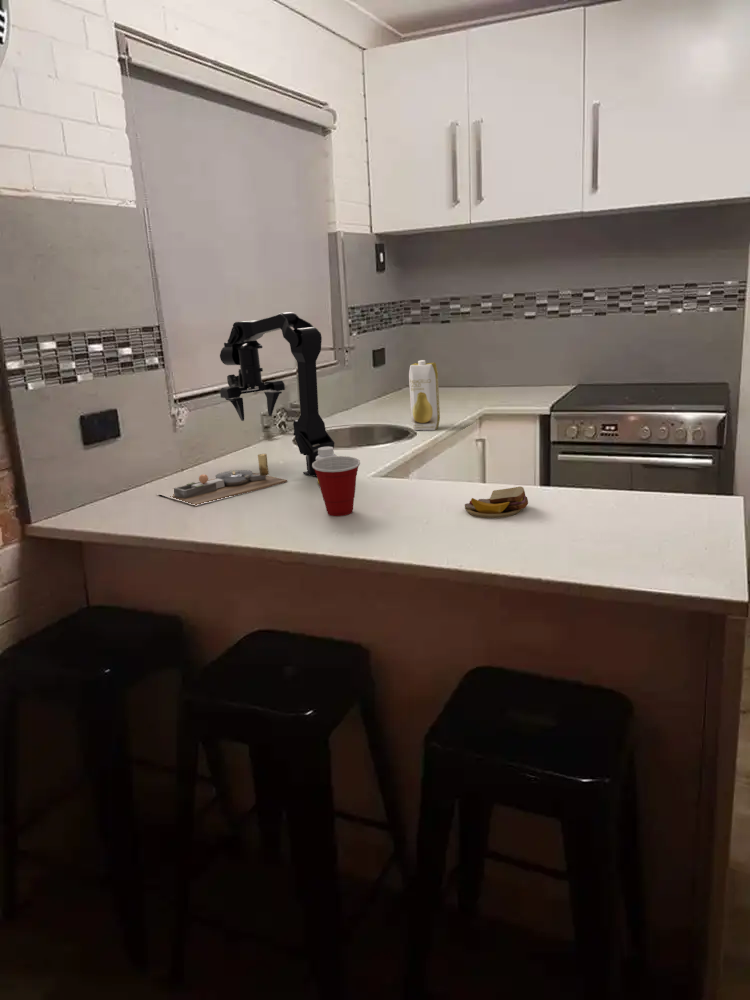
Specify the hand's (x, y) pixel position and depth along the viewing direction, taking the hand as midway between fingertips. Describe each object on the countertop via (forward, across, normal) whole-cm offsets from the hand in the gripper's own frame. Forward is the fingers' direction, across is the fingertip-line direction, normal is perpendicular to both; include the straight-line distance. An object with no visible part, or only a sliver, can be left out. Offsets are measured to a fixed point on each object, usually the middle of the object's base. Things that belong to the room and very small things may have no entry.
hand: (256, 418), depth 223 cm
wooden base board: (+14, +21, +17) cm, 31 cm away
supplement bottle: (+15, +2, +39) cm, 42 cm away
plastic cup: (+15, +14, +62) cm, 65 cm away
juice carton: (+14, -66, -1) cm, 67 cm away
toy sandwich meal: (+16, -10, +87) cm, 89 cm away
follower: (+13, +26, +18) cm, 34 cm away
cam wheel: (+13, +15, +16) cm, 26 cm away
